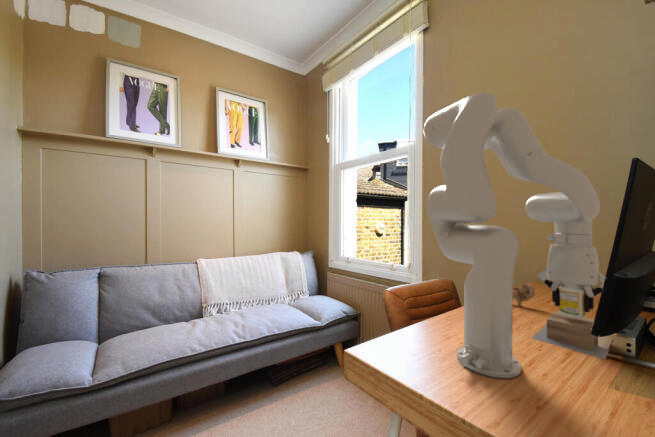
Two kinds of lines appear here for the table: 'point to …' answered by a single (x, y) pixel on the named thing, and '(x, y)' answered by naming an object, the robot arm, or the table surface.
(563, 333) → the walnut block
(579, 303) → the supplement bottle
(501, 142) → the robot arm
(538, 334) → the base plate
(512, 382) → the table surface
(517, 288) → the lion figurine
